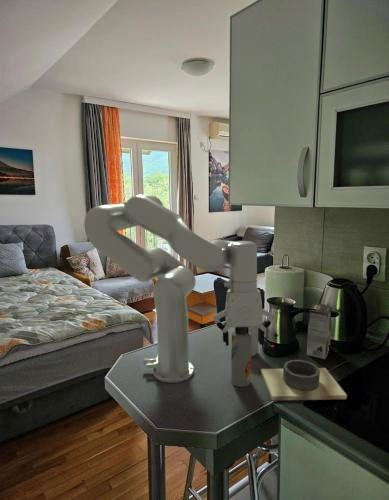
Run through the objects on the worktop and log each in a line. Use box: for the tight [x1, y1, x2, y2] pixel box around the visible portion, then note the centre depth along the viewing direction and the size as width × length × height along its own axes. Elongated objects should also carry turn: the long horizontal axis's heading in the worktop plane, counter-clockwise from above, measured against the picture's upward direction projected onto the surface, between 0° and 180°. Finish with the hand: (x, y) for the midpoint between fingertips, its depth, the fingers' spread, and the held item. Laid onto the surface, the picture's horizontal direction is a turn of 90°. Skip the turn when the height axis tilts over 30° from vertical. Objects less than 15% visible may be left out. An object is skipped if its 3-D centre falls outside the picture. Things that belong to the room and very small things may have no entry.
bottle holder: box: [260, 359, 348, 401], centre depth 94 cm, size 20×14×5 cm
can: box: [249, 326, 259, 358], centre depth 113 cm, size 8×8×12 cm
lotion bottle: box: [230, 327, 252, 388], centre depth 95 cm, size 6×6×20 cm
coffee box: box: [306, 302, 333, 360], centre depth 113 cm, size 9×6×16 cm
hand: (243, 343), depth 94 cm, fingers open, 9 cm apart
